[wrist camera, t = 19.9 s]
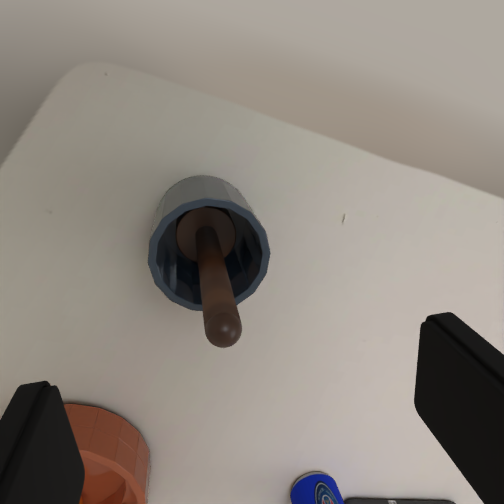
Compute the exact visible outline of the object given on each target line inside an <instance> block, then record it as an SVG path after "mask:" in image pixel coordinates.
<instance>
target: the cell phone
mask: <svg viewBox="0 0 504 504" xmlns="http://www.w3.org/2000/svg"><path fill="white" fill-rule="evenodd" d="M344 504H455V503H454V502H451V501H424V500H385V499H350V500H347V501H346V502H345V503H344Z"/></svg>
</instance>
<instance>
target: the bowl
mask: <svg viewBox="0 0 504 504" xmlns="http://www.w3.org/2000/svg"><path fill="white" fill-rule="evenodd" d="M64 407H65V410H66V413H67V416H68V419H69V422H70V425H71V428H72V431H73V434H74V437H75V440H76V443H77V446H78V449H79V452H80V455H81V458H82V461H83V464H84V468H85V480H84V485H83V489H82V494H81V496H82V499H83V504H148V494H149V482H150V470H151V465H150V454H149V449H148V447H147V445H146V443H145V441H144V440H143V438H142V436H141V434H140V432H139V431H138V430H136V429H135V428H134V427H133V426H132V425H131V424H129V423H128V422H127V421H126V420H125V419H123V418H122V417H120V416H118V415H115V414H113V413H111V412H109V411H106V410H104V409H102V408H98V407H91V406H85V405H78V404H64Z"/></svg>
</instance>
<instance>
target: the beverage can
mask: <svg viewBox="0 0 504 504" xmlns="http://www.w3.org/2000/svg"><path fill="white" fill-rule="evenodd" d="M290 497H291V502H292V504H344V502H343V499H342V497H341V494H340V492H339V490H338V487H337V485H336V482H335V480H334V479H333V478H332V477H330V476H328V475H327V474H325V473H322V472H311V473H307V474H305V475H303V476H302V477H300V478H299V479H298V480H297V481H296V482H295V484H294V486H293V488H292V491H291V495H290Z"/></svg>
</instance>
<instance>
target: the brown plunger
mask: <svg viewBox="0 0 504 504" xmlns="http://www.w3.org/2000/svg"><path fill="white" fill-rule="evenodd" d="M235 241H236V228H235V225H234V223H233V220H232V218H231V216H230V214H229V212H228V210H227V209H226V208H220V207H212V206H205V207H201V208H197V209H193V210H189V211H186V212H184V213H183V214H182V215H180V216H179V217H178V218H177V221H176V243H177V245H178V248H179V250H180V251H181V253H182V254H183V255H184V256H185V257H187V258H188V259H189V260H191V261H193V262H196V263H198V268H199V278H200V288H201V298H202V307H203V317H204V327H205V334H206V337H207V339H208V340H209V342H210V343H211V344H213V345H214V346H217V347H220V348H226V347H230V346H232V345H234V344H235V343H236V342H237V341H238V340H239V338H240V336H241V333H242V325H241V321H240V317H239V313H238V310H237V306H236V302H235V298H234V295H233V291H232V287H231V284H230V280H229V276H228V272H227V269H226V265H225V261H224V258H225V257H226V256H227V255H228V254H229V253H230V252H231V250H232V249H233V247H234V244H235Z"/></svg>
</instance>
